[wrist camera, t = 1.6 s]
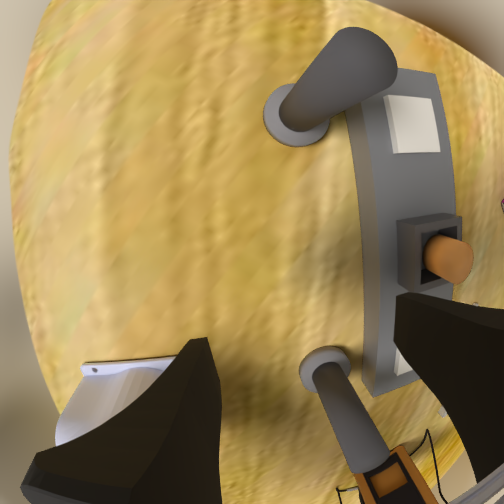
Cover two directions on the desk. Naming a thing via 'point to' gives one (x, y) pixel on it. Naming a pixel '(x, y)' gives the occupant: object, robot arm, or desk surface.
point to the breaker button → (448, 258)
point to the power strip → (400, 210)
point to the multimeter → (395, 481)
